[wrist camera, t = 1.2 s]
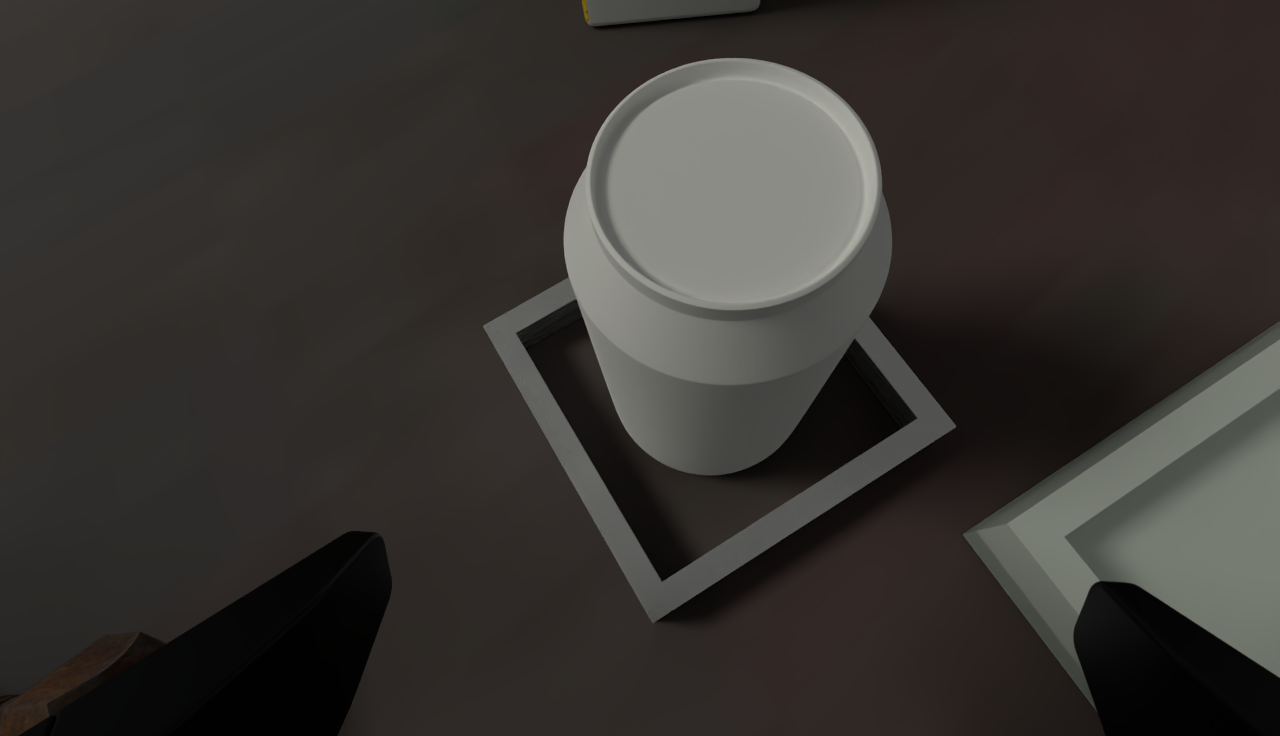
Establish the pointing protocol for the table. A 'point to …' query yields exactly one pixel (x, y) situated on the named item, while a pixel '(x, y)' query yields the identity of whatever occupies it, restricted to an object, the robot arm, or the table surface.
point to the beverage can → (725, 255)
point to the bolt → (74, 680)
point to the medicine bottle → (659, 9)
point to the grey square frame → (658, 598)
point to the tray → (1161, 515)
